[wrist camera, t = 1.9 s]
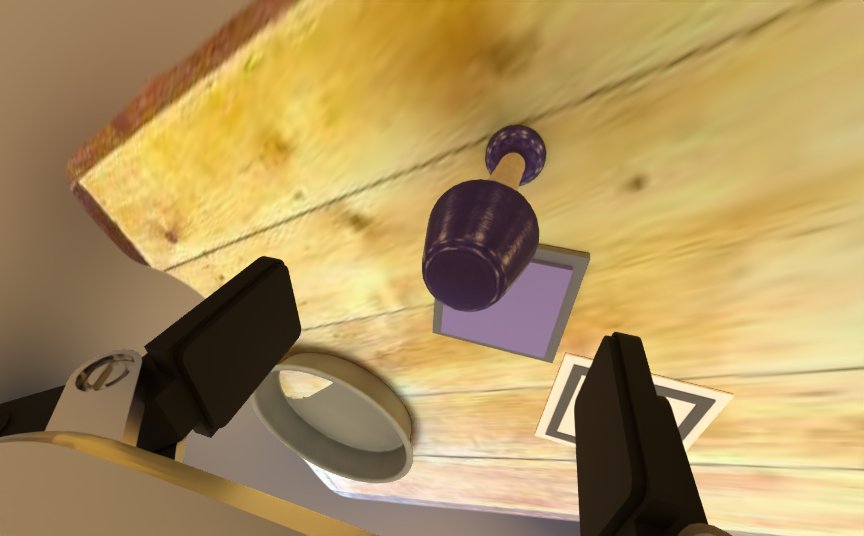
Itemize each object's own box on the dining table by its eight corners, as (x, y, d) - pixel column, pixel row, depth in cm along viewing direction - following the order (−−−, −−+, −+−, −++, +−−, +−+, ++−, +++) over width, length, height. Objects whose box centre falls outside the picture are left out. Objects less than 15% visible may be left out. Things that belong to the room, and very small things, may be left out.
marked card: (733, 393, 31) (734, 397, 30) (665, 472, 39) (666, 476, 38) (565, 352, 34) (565, 355, 33) (534, 433, 42) (534, 436, 41)
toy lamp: (469, 142, 26) (372, 262, 13) (526, 100, 23) (477, 194, 10) (506, 195, 27) (452, 353, 14) (563, 160, 25) (563, 313, 11)
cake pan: (416, 361, 42) (402, 393, 38) (428, 471, 55) (418, 502, 51) (246, 326, 48) (221, 350, 45) (293, 432, 62) (277, 457, 58)
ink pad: (589, 253, 28) (590, 262, 27) (552, 357, 35) (552, 368, 33) (441, 225, 30) (437, 233, 29) (434, 327, 37) (430, 336, 36)
